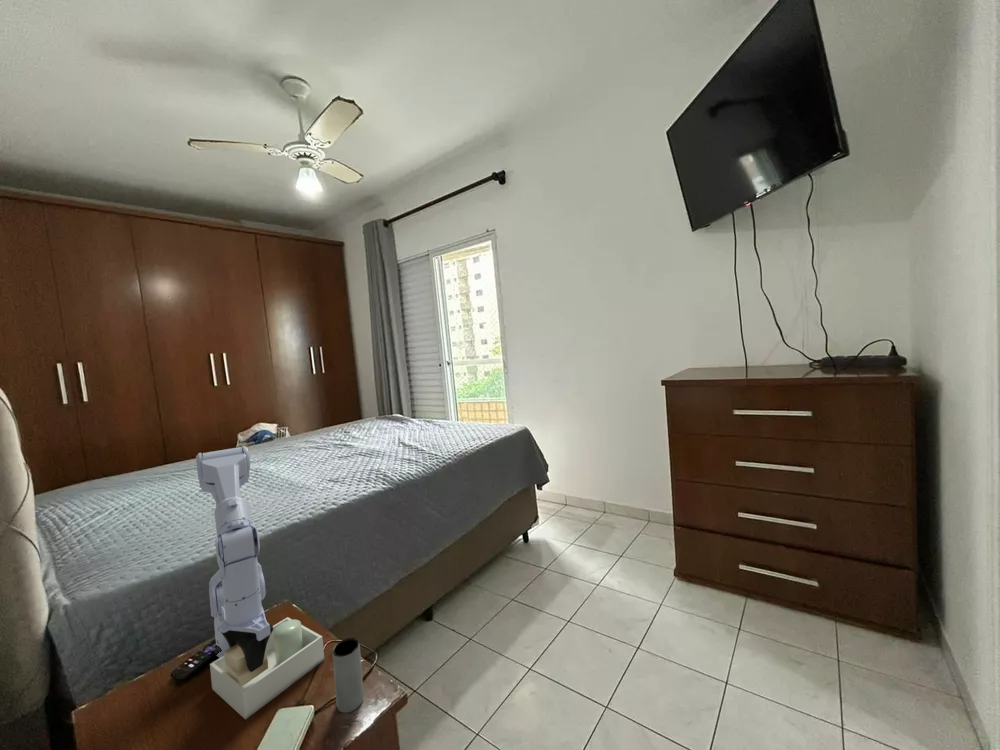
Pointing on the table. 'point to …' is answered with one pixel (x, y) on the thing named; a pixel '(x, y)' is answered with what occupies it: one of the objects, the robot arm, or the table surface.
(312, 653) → the tote
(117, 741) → the table surface
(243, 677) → the cube
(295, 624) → the canister
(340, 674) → the planter
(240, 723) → the table surface
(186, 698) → the table surface
